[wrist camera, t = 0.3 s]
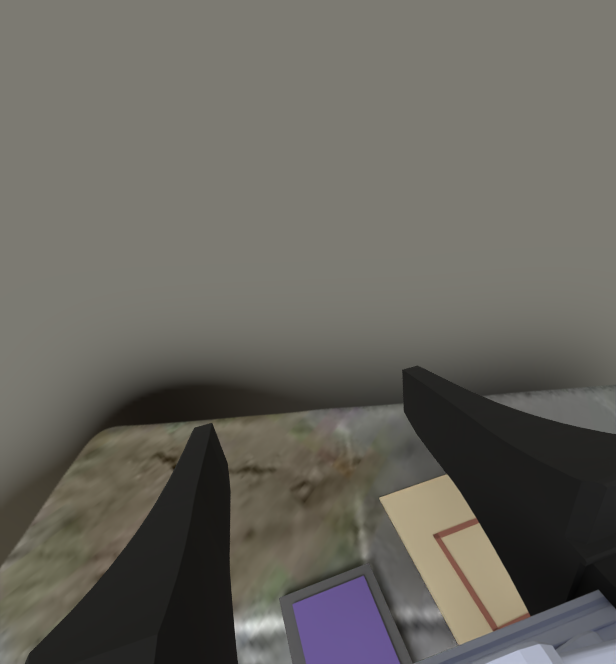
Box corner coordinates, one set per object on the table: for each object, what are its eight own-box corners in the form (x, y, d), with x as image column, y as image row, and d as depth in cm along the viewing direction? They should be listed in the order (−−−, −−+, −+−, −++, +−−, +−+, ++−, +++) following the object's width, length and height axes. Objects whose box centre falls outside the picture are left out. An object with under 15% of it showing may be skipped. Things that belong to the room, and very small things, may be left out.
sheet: (682, 664, 21) (684, 662, 21) (521, 759, 18) (522, 758, 18) (489, 460, 34) (489, 458, 34) (379, 499, 32) (379, 496, 32)
